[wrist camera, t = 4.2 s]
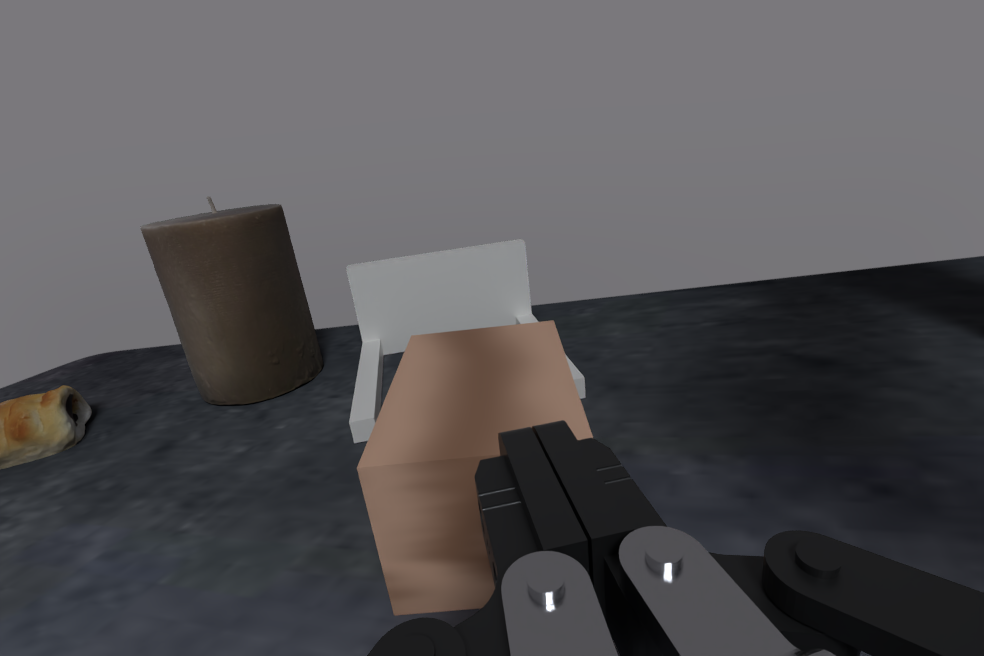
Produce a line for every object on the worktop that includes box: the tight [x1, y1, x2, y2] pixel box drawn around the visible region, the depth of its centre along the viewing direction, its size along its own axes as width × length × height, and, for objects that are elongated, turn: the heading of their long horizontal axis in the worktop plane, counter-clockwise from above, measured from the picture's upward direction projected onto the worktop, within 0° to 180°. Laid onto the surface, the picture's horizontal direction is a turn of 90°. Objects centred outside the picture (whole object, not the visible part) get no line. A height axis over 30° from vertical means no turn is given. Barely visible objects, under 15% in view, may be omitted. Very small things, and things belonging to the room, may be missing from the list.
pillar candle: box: [141, 197, 323, 405], centre depth 39 cm, size 10×10×15 cm
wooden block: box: [357, 320, 593, 615], centre depth 23 cm, size 8×12×7 cm, turn 0°
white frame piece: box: [346, 239, 586, 443], centre depth 37 cm, size 15×15×8 cm
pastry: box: [0, 386, 92, 469], centre depth 34 cm, size 9×7×4 cm
